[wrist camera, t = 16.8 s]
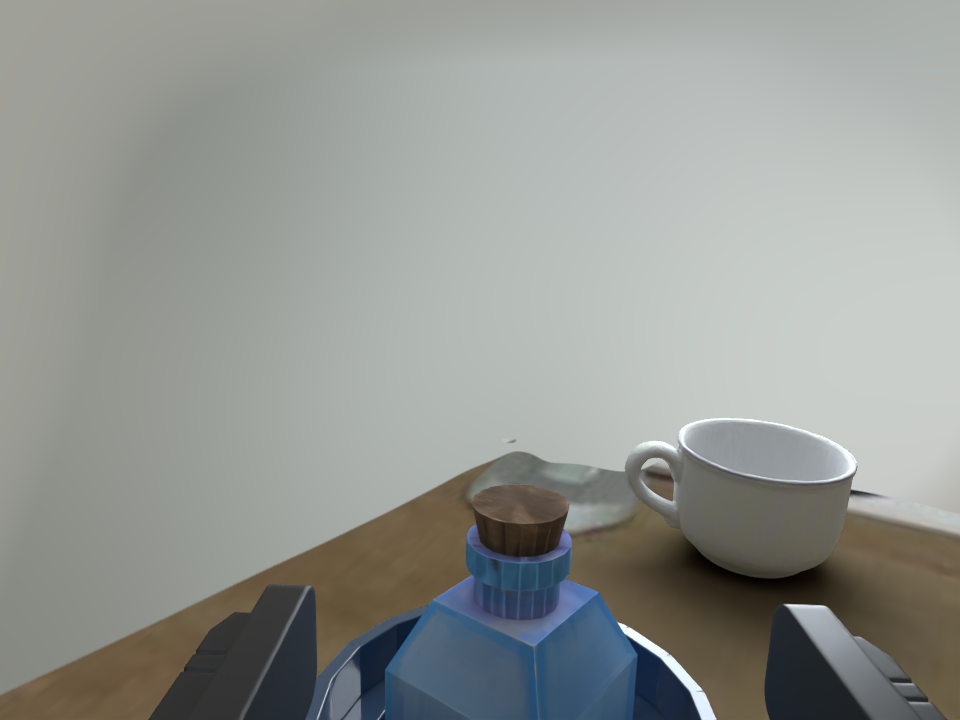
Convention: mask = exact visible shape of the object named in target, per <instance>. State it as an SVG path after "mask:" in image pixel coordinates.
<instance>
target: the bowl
mask: <svg viewBox="0 0 960 720" xmlns="http://www.w3.org/2000/svg"><path fill="white" fill-rule="evenodd" d="M428 606H429V605H426V606H423V607H420V608H417V609H414V610H411V611H408V612H406V613H403V614H400V615H397V616H394V617H391V618H389V619H386V620H385V621H383V622H381V623H380V624H378V625H377V626H375V627H373V628H372V629H370V630H368V631H367V632H365V633H364V634H362V635H360V636H359V637H357V638H355V639H354V640H352V641H351V642H349V643H348V644H347V645H346V646H345V647H344V648H343V649H342V650H341V651H340V653H339V654H338V655H337V656H336V657H335V658H334V659H333V660H332V661H331V662H330V664H329V665H328V666H327V667H326V668H325V669H324V670H323V671H322V672H321V673H320V675H319V676H318V677H317V678H316V684H315V690H314V695H313V699H312V703H311V706H310V709H309V711H308V714H307V717H306V719H305V720H385V669H386V668H387V666H388V665H389V663H390V662H391V660H392V659H393V657H394V656H395V654H396V653H397V651H398V650H399V648H400V647H401V646H402V644H403V643H404V641H405V640H406V638H407V637H408V635H409V634H410V632H411V631H412V629H413V628H414V626H415V625H416V624H417V622H418V621H419V619H420V618H421V616H422V615H423V613H424V612H425V610H426V609H427V607H428ZM617 623H618V622H617ZM618 624H619V626H620V627H621V629H622V631H623V632H624V634H625V635H626V637H627V639H628V640H629V642H630V643H631V645H632V647H633V648H634V650H635V651H636V653H637V655H638V656H637V668H636V681H635V694H634V706H633V719H632V720H717V719H716V717H715V714H714V712H713V710H712V707H711V705H710V703H709V701H708V698H707V696H706V694H705V692H704V691H703V689H702V688H701V687H700V686H699V685H698V684H697V683H696V682H695V681H694V679H693V678H692V677H691V676H690V675H689V674H688V673H687V672H686V671H685V670H684V668H683V667H682V666H681V665H680V664H679V663H678V662H677V661H676V660H675V659H674V657H673V656H671V655H670V654H669V653H668V652H666V651H665V650H663V649H662V648H660V647H659V646H657V645H656V644H654V643H653V642H651V641H650V640H648V639H647V638H645V637H643V636H642V635H640V634H639V633H637V632H636V631H634V630H633V629H631V628H629V627H628V626H626V625H623V624H621V623H618Z"/></svg>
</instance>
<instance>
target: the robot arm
mask: <svg viewBox="0 0 960 720" xmlns="http://www.w3.org/2000/svg"><path fill="white" fill-rule="evenodd" d="M316 675H317V644H316V601H315V591H314V588H313V586H311V585H286V584H269V585H268V586H267V587H266V589H265V591H264V592H263V594H262V595H261V597H260V599H259V600H258V602H257V604H256V605H255V607H254V608H253V610H252V612H251V613H239V612H235V613H233V614H232V615H230V616H229V617H227V618H226V619H225V620H223V621H222V622H220V623H219V624H218V625H216V626H215V627H213V628H212V629H211V630H210V631H209V632H208V634H207V635H206V637H205V638H204V640H203V641H202V643H201V644H200V646H199V647H198V648H197V650H196V654H193V656H192V657H191V659H190V660H189V661H188V663H187V664H186V666H185V667H184V672H181V673H180V675H179V676H178V677H177V679H176V680H175V682H174V683H173V685H172V686H171V688H170V689H169V690H168V692H167V693H166V695H165V696H164V698H163V699H162V701H161V702H160V704H159V705H158V706H157V708H156V709H155V711H154V712H153V714H152V715H151V717H150V718H149V719H148V720H305V719H306V717H307V714H308V711H309V709H310V706H311V703H312V699H313V695H314V690H315V684H316ZM765 702H766V708H767V712H768V715H769V719H770V720H947V719H946V718H945V717H944V716H943V714H942V713H941V712H940V711H939V710H938V709H937V708H936V707H935V705H934V704H933V703H929V702H928V698H927V696H926V695H925V694H924V693H923V692H922V691H921V690H920V689H919V688H918V686H917V685H916V684H912V683H911V679H910V677H909V676H908V675H907V674H906V673H905V672H904V671H903V670H902V668H901V667H900V666H899V665H898V664H897V663H896V662H895V661H894V660H893V658H892V657H891V656H889V655H888V654H886V653H885V652H883V651H882V650H880V649H879V648H877V647H876V646H874V645H873V644H871V643H870V642H868V641H867V640H865V639H863V638H862V637H853V636H852V635H851V634H850V633H849V631H848V630H847V629H846V628H845V627H844V625H843V624H842V623H841V622H840V621H839V620H838V618H837V617H836V616H835V615H834V614H833V612H832V611H831V610H830V609H829V608H828V607H826V606H823V605H798V604H779V605H778V606H777V607H776V609H775V611H774V615H773V621H772V629H771V637H770V645H769V653H768V661H767V669H766V677H765Z"/></svg>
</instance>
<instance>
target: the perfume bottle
mask: <svg viewBox="0 0 960 720" xmlns="http://www.w3.org/2000/svg"><path fill="white" fill-rule="evenodd" d="M472 505H473V510H474V515H475V520H476V525H474V526H473V527H472V528H470V530H469V532H468V534H467V545H466V564H467V568H468V571H469V572H470V573H471V574H472V576H470V577H469V578H467V579H465V580H464V581H462V582H460V583H459V584H457V585H456V586H454V587H452V588H451V589H449V590H448V591H446V592H444V593H443V594H441V595H440V596H438V597H436V598H435V599H433V600H432V602H431V603H430V604H429V606H428V607H427V609H426V610H425V612H424V613H423V615H422V616H421V618H420V619H419V621H418V622H417V624H416V625H415V626H414V628H413V629H412V631H411V632H410V634H409V635H408V637H407V638H406V640H405V641H404V643H403V644H402V646H401V647H400V648H399V650H398V651H397V653H396V654H395V656H394V657H393V659H392V660H391V662H390V663H389V665H388V666H387V668H386V669H385V720H632V719H633V706H634V694H635V681H636V668H637V656H638V655H637V653H636V651H635V650H634V648H633V647H632V645H631V643H630V642H629V640H628V639H627V637H626V635H625V634H624V632H623V631H622V629H621V627H620V626H619V624H618V623H617V621H616V619H615V618H614V616H613V615H612V613H611V611H610V610H609V608H608V607H607V605H606V603H605V602H604V600H603V599H602V597H601V595H600V594H599V592H597V591H594V590H592V589H589V588H586V587H584V586H581V585H579V584H576V583H573V582H571V581H568V580H566V579H565V578H566V577H567V576H568V575H569V572H570V562H571V544H572V539H571V537H570V536H569V534H568V532H567V531H565V530H564V529H563V528H564V524H565V521H566V517H567V514H568V510H569V503H568V502H567V500H566V499H565V498H564V497H563V496H561V495H560V494H558V493H556V492H553V491H551V490H548V489H545V488H541V487H536V486H529V485H502V486H495V487H491V488H488V489H485V490H482V491H480V492H479V493H478V494H476V495H475V496H474V498H473V500H472Z"/></svg>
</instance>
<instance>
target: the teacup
mask: <svg viewBox="0 0 960 720" xmlns="http://www.w3.org/2000/svg"><path fill="white" fill-rule="evenodd" d="M678 444H679V449H678V450H676V449H675V448H674V447H672V446H671V445H669V444H666V443H664V442H660V441H647V442H644V443H642V444H640V445H638V446H637V447H635V448H634V449H633V450H632V451H631V453H630V455H629V456H628V459H627V461H626V465H625V477H626V480H627V483H628V485H629V487H630V489H631V490H632V492H633V493H634V494H635V495H636V497H637V498H638V499H639V500H641V501H642V502H643V503H644V504H646V505H647V506H648V507H650V508H651V509H653V510H655V511H656V512H658V513H660V514H661V515H663V516H664V519H665V521H666V522H667V524H668V525H669V526H671V527H673V528H677V529H680V530H681V531H682V533H683V534H684V536H685V537H686V538H687V539H688V540H689V541H690V542H691V543H692V544H693V545H694V546H695V547H696V548H697V549H698V551H699V552H700V553H701V554H702V555H703V556H705V557H706V558H707V559H709V560H710V561H711V562H713V563H715V564H716V565H718V566H720V567H722V568H724V569H727V570H729V571H732V572H735V573H738V574H742V575H746V576H751V577H757V578H783V577H787V576H792V575H795V574H797V573H799V572H801V571H804V570H808V569H810V568H813V567H815V566H817V565H819V564H821V563H822V562H823V561H825V560H826V559H827V558H828V557H829V556H830V555H831V554H832V552H833V551H834V549H835V547H836V545H837V543H838V541H839V538H840V535H841V532H842V528H843V524H844V520H845V515H846V511H847V506H848V501H849V496H850V490H851V484H852V479H853V476H854V475H855V473H856V471H857V463H856V460H855V459H854V457H853V456H852V454H851V453H850V452H849V451H847V450H846V449H844V448H843V447H841V446H840V445H838V444H837V443H835V442H833V441H831V440H828V439H826V438H824V437H822V436H819V435H816V434H813V433H811V432H808V431H804V430H801V429H797V428H794V427H790V426H786V425H782V424H776V423H771V422H763V421H758V420H748V419H735V418H728V419H707V420H701V421H697V422H693V423H691V424H688V425H686V426H685V427H683V428H682V429H681V430H680V432H679V434H678ZM650 458H662V459H663V460H665V461H666V462H667V463H668V464H669V467H670V470H671V476H672V478H673V480H674V500H673V501H669V500H666V499H664V498H662V497H660V496H658V495H657V494H655V493H654V492H652V491H651V490H650V489H648V488H647V487H646V486H645V484H644V483H643V482H642V480H641V477H640V471H641V467H642V465H643V464H644V463H645V462H646V461H647V460H648V459H650Z"/></svg>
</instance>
